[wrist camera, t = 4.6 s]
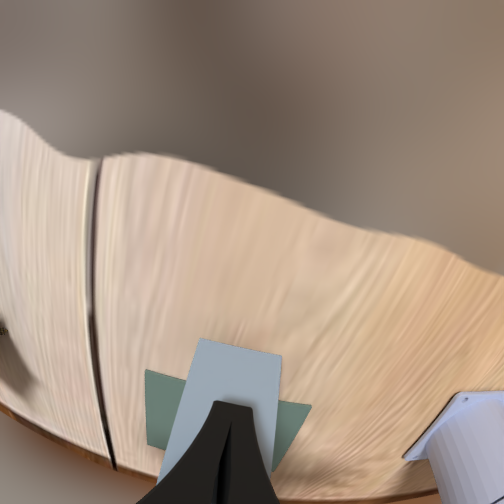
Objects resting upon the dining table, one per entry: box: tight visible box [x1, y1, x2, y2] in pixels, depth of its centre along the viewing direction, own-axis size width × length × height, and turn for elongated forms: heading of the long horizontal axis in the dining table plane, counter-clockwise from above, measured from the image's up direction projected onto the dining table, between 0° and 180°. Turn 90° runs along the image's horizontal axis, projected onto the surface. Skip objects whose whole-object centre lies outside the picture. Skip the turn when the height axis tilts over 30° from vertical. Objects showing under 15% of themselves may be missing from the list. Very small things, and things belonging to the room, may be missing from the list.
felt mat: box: [145, 370, 312, 472], centre depth 18 cm, size 10×9×1 cm
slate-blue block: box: [156, 338, 282, 504], centre depth 12 cm, size 4×4×8 cm
